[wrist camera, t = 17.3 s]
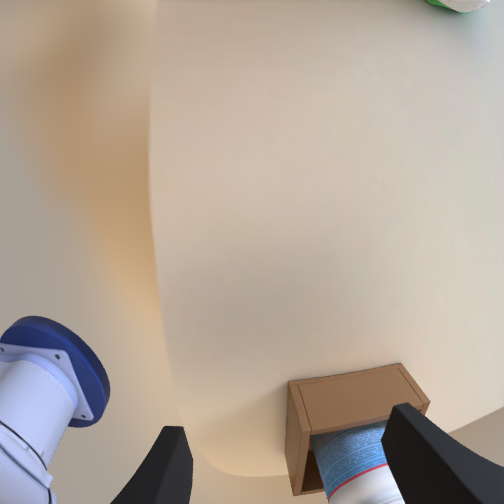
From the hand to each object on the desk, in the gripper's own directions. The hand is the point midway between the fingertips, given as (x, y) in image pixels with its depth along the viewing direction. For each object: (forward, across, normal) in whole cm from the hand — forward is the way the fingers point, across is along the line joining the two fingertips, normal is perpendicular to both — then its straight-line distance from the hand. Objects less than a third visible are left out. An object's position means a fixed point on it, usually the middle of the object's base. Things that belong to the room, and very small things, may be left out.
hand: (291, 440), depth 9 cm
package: (+10, -6, +11) cm, 16 cm away
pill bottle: (+10, -6, +11) cm, 16 cm away
